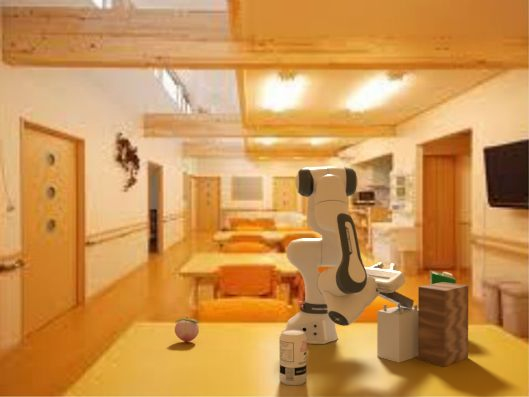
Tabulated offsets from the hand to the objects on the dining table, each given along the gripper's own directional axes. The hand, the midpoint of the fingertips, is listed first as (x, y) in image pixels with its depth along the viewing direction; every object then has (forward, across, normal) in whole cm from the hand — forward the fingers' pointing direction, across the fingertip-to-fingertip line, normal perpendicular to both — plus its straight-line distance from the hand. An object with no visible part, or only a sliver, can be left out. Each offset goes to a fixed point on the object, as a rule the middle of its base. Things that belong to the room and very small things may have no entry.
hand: (387, 264), depth 197 cm
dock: (-10, 0, +32) cm, 33 cm away
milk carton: (+22, +7, +51) cm, 56 cm away
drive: (-5, 0, +12) cm, 12 cm away
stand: (-3, -12, +36) cm, 38 cm away
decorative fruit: (-50, +64, +9) cm, 82 cm away
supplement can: (-51, +6, +9) cm, 52 cm away
